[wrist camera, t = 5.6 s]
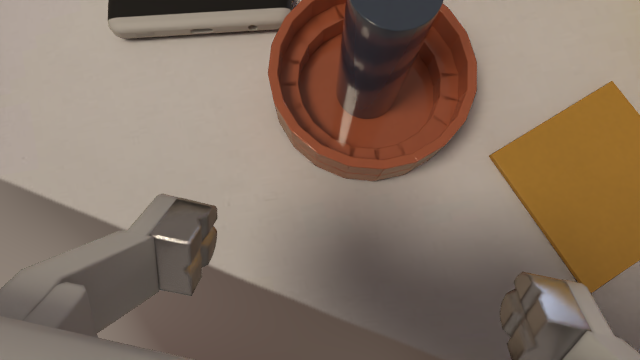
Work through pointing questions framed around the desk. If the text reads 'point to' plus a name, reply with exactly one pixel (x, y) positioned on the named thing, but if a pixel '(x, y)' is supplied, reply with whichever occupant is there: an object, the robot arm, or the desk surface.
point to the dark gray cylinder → (380, 51)
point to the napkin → (583, 183)
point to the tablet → (193, 16)
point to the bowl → (379, 133)
